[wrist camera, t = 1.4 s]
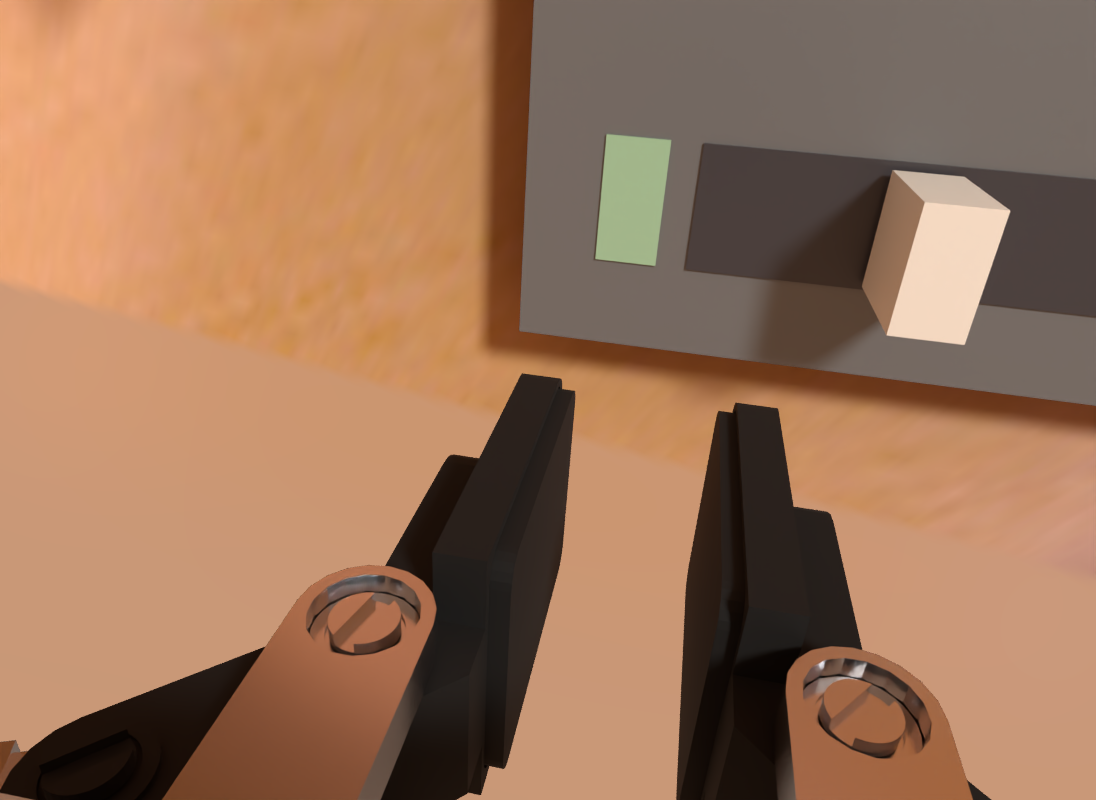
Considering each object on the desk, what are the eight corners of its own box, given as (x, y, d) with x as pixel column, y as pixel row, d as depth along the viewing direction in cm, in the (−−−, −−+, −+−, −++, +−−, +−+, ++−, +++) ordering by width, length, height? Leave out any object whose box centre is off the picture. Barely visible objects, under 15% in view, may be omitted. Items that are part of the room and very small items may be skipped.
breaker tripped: (964, 177, 23) (1010, 211, 19) (928, 293, 24) (964, 344, 21) (892, 170, 23) (924, 202, 19) (862, 286, 24) (886, 335, 21)
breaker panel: (1678, -521, 17) (1862, -619, 14) (1207, 385, 27) (1262, 428, 25) (579, -501, 20) (558, -578, 17) (535, 302, 30) (518, 332, 28)
